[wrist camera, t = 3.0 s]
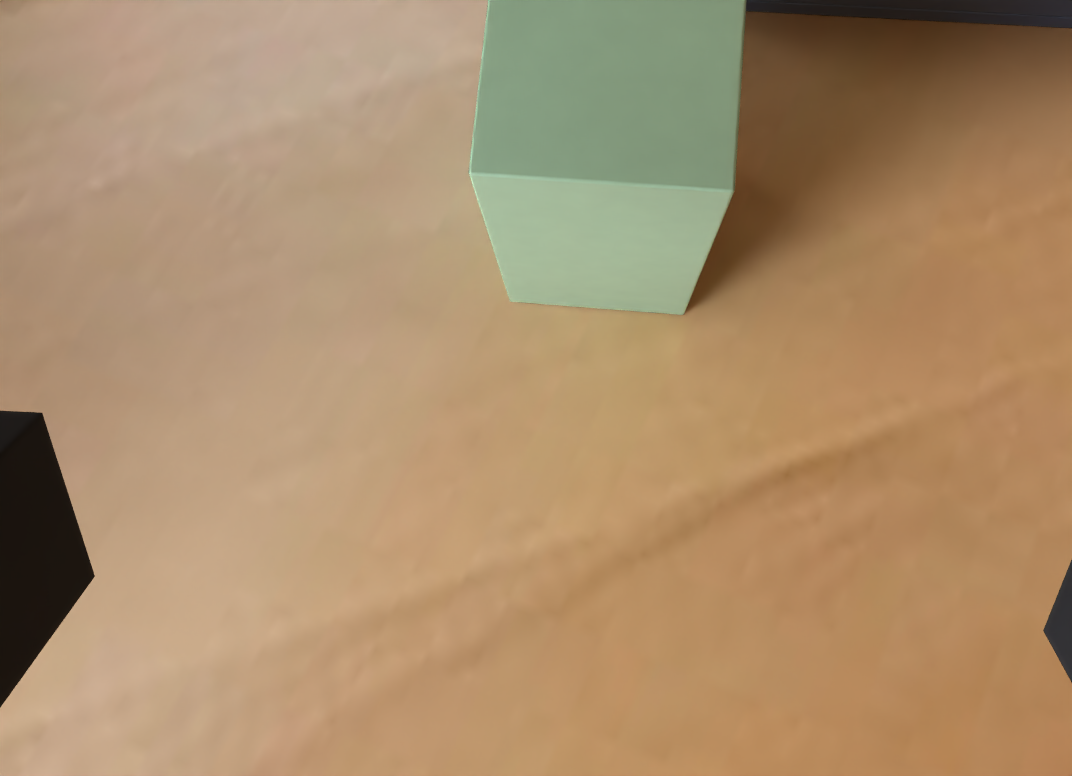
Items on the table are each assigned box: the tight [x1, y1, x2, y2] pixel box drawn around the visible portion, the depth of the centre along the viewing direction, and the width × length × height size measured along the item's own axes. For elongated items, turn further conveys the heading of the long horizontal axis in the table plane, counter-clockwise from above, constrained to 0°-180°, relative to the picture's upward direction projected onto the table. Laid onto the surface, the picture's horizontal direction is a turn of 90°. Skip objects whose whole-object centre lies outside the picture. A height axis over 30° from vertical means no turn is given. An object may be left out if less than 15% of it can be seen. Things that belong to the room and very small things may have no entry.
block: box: [469, 0, 746, 315], centre depth 24 cm, size 6×6×10 cm
